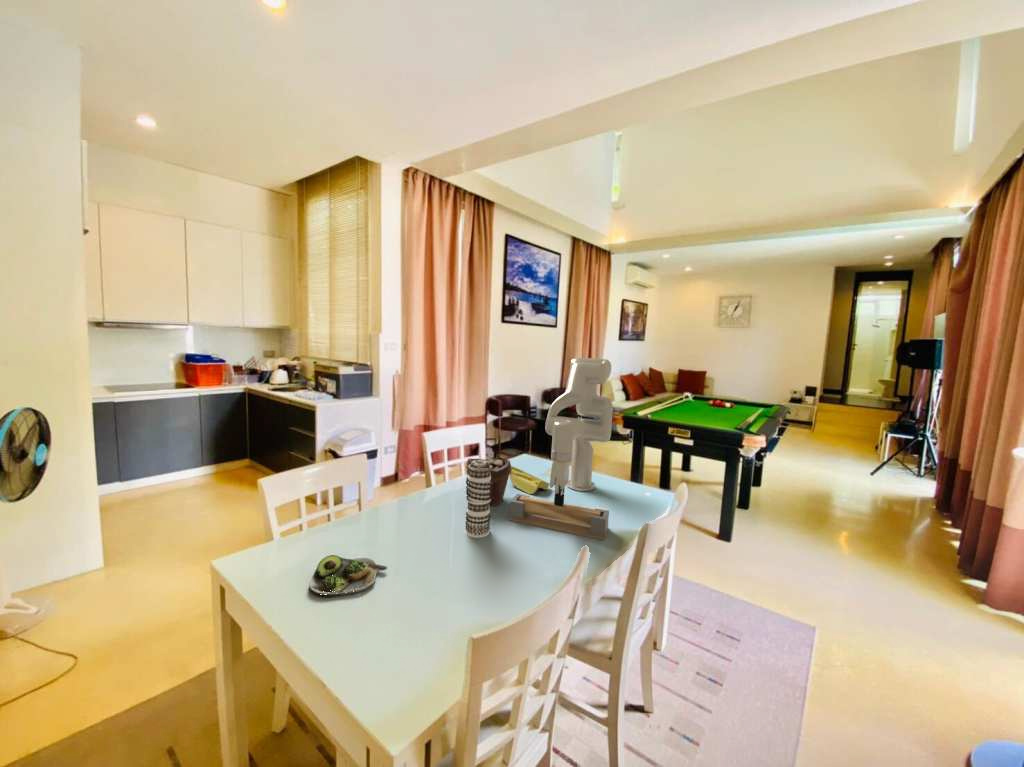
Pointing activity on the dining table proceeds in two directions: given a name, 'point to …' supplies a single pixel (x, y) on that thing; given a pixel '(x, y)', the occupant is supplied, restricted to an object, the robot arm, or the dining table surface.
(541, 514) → the slat
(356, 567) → the salad plate
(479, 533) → the tower model
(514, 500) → the end cap frame
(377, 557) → the dining table surface
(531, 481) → the plastic component
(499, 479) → the brown pot
